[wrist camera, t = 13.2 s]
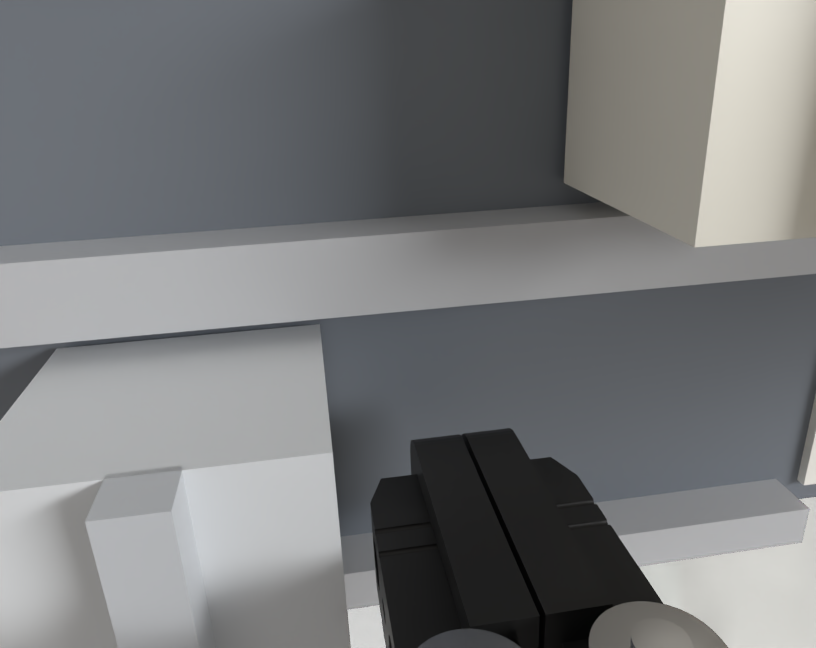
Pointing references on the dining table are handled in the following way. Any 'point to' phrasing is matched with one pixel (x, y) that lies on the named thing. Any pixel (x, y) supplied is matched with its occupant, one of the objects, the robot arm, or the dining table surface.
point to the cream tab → (696, 115)
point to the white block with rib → (173, 497)
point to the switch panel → (400, 251)
